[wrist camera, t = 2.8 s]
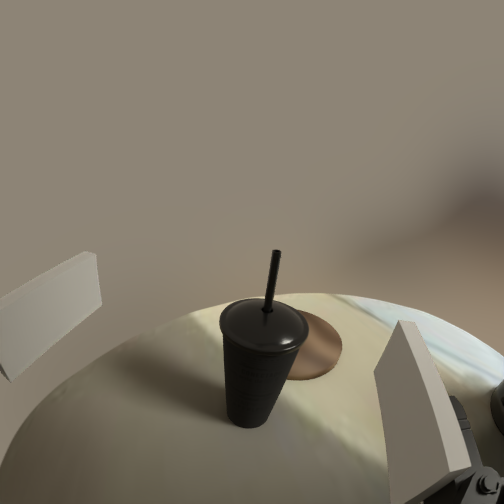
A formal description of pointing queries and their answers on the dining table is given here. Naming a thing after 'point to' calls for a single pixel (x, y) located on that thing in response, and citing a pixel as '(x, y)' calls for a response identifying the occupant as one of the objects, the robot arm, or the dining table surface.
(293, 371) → the coaster board
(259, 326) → the drinking cup
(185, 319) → the dining table surface
